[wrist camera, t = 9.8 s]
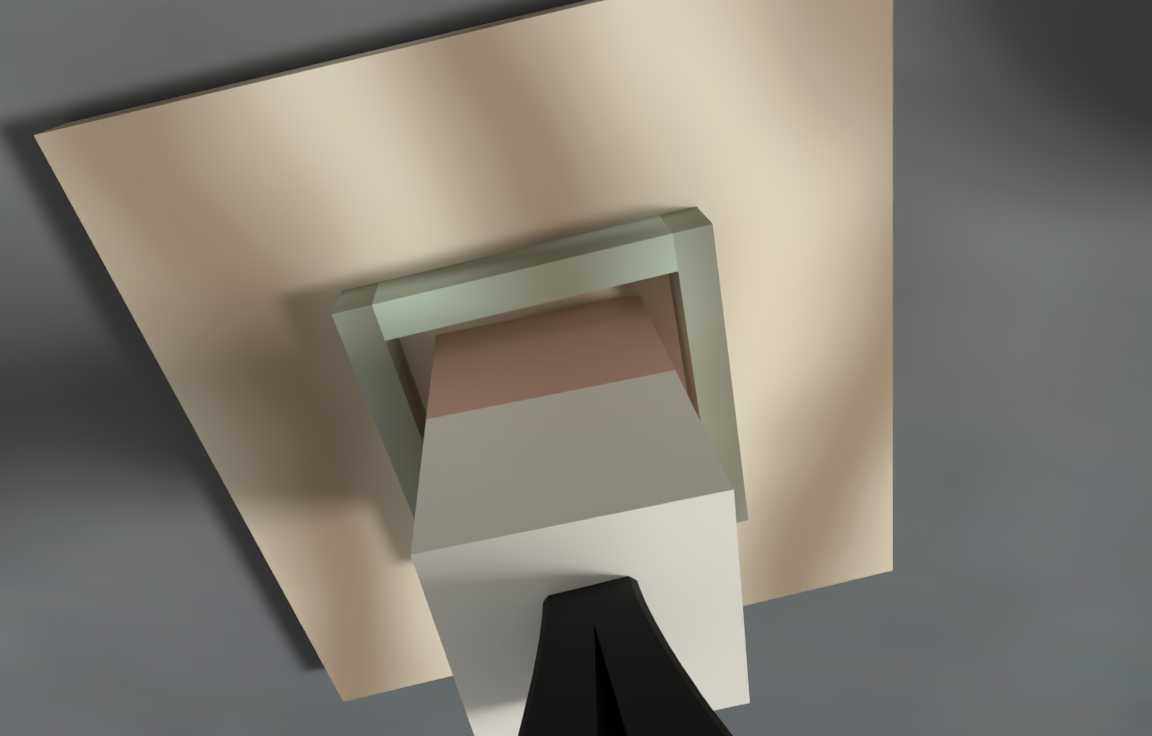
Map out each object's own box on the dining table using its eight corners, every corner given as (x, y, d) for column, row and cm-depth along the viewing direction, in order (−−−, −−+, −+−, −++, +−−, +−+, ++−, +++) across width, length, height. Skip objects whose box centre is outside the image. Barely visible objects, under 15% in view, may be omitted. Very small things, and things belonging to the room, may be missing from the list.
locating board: (349, 667, 22) (336, 739, 20) (65, 123, 15) (-4, 149, 13) (873, 541, 22) (914, 601, 20) (863, -66, 15) (927, -71, 13)
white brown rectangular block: (481, 496, 19) (482, 758, 12) (435, 334, 16) (410, 554, 10) (660, 460, 19) (749, 703, 12) (638, 295, 16) (734, 489, 10)
